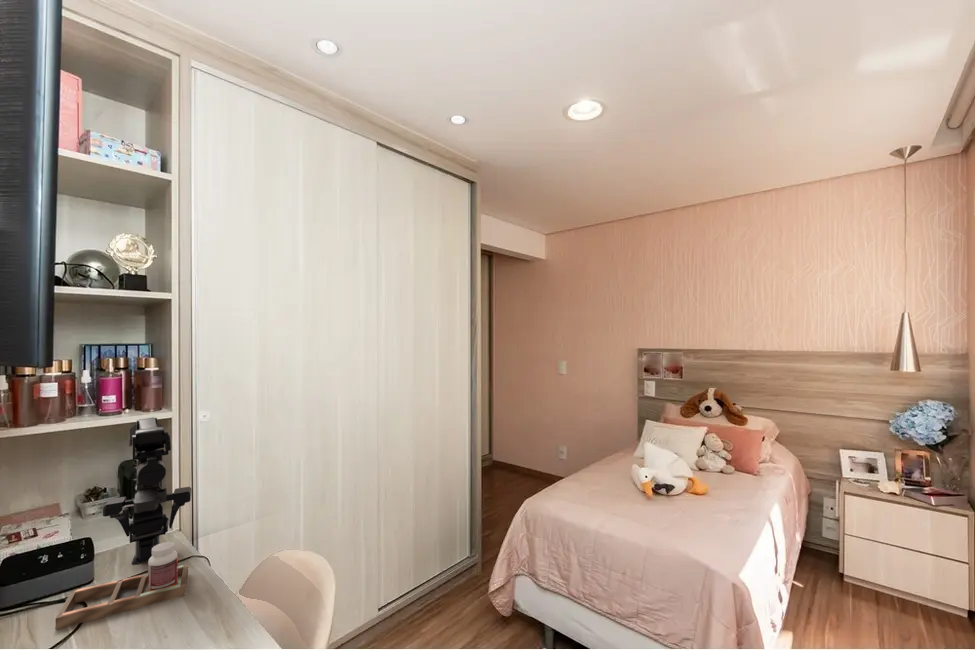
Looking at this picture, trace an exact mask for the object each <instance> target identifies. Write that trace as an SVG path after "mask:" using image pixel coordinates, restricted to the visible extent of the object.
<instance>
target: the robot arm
mask: <svg viewBox="0 0 975 650" xmlns="http://www.w3.org/2000/svg"><path fill="white" fill-rule="evenodd" d="M128 447H131V454H132V456H131V457H132V461H136V490H135V492H134V496H133V497H134V498H133V499H127V496H121V497H115V498H109V499H108V500H107V502H106V503H105V504H104V506H103V507H102V516H103V517H109V518H110V519H115V520H117V521H118V522H119V524H120V525H121V527H122V529H123V532H124V534H125V536H126V538H129V540H128V541H129V544H133V543H134V551H135V552H134V556H133V558H132V561H131V565H136V564H141V563H144V562H146V563H147V562H148V560H149V559H150V557H151V556H152V548H153V547H154V546H156V545H158V544H161V543H160V541H161V540H160V539H161V538H160V537H161V536H163V535H164V536H165V535H166V534H167V533H168V531H169V529H172V527H173V523H174V521H175V519H176V515H177V514H178V511H179V509H180V508H181V507H183V506H185V505H186V504H188V503H190V502H191V499H192V494H193V493H192V487H190V486H185V487H179V488H175V489H174V491H173V492H172V493H168V489H167V488H164V478H165V477H166V474H167V470H166V467H165V463H164V456H168V455H169V451H171V450H172V445H171V435H170V434H169V432H168V431H165V428H164V427H163V425H162V424H161V423H159V422H158V417H154V416H153V417H144V418H143V417H142V418H139V419H136V423H135V425H133V426H132V427H131V428H130V429H129V430H128ZM170 501H172V505H171V510H170V517H167V515H166V513H164V508H163V505H162V503H163V504H164V503H166V502H170ZM129 508H133V510H134V511H133V512H132V521H130V514H129Z"/></svg>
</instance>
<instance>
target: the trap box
mask: <svg viewBox="0 0 975 650" xmlns="http://www.w3.org/2000/svg"><path fill="white" fill-rule="evenodd" d="M188 577H189V565H188V564H187V565H184V564H182V565H178V583H177V585H174V586H170V587H166V588H162V589H158V590H154V591H150V592H148V572H147V573H146V574H144V575H143V574H139V575H138V574H137V575H134V576H130V577H127V578H122V580H114V581H113V580H112V581H109V582H105V583H100V584H97V585H92V586H88V587H82V588H80V589H79V588H78V589H76V590H75V591H72V592H70V593H69V595H68V596H67V598H66V600H65V602H64V603H63V605H62V607H61V609H60V610H59V612H58V613H57V615H56V617H55V630H58V629H59V630H60V629H63V628H66V627H70V626H75V625H78V624H82V623H86V622H90V621H93V620H97V619H101V618H105V617H109V616H112V615H116V614H120V613H123V612H124V613H125V612H128V611H131V610H135V609H139V608H143V607H146V606H147V607H148V606H151V605H154V604H158V603H162V602H166V601H169V600H174V599H177V598H181V597H185V595H186V589H187V583H188ZM106 596H110V599H109V600H108V601H106V602H101V603H99V604H95V605H89V606H86V607H83V608H79V609H73V608H74V606H75V604H78V603H81V602H86V601H90V600H94V599H98V598H102V597H106Z"/></svg>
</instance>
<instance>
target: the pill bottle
mask: <svg viewBox="0 0 975 650" xmlns="http://www.w3.org/2000/svg"><path fill="white" fill-rule="evenodd" d="M178 556H179V555H178V552H177V551H176V550H175V543H174V542H172V541H165V542H161V543H160V544H158V545H156V546H154V547H153V548H152V556H151V557H150V559H149V560H148V561H147V562H148V563H147V573H148V592H150V591H154V590H158V589H162V588H166V587H170V586H174V585H177V583H178V566H179V565H178V561H179V559H178V558H179V557H178Z"/></svg>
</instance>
